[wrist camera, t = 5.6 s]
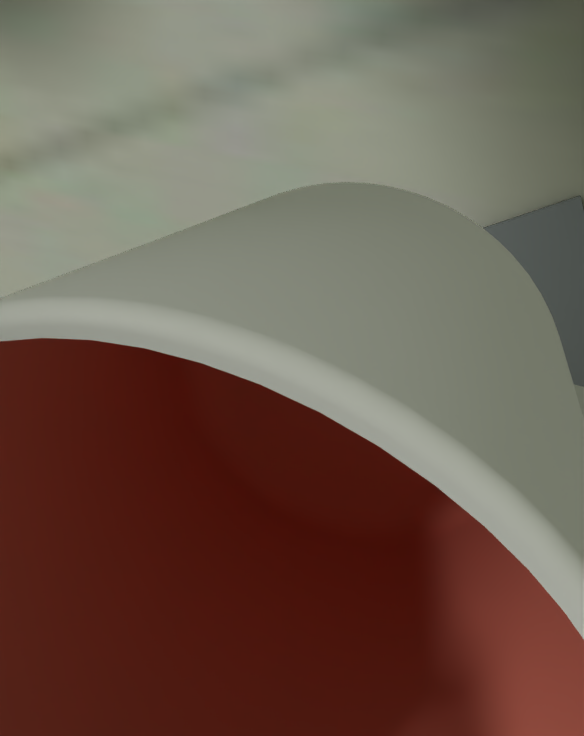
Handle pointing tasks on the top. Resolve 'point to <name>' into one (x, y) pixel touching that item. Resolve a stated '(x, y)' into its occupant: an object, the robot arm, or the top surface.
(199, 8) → the top surface
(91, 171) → the top surface
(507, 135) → the top surface
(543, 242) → the mat
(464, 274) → the cup
